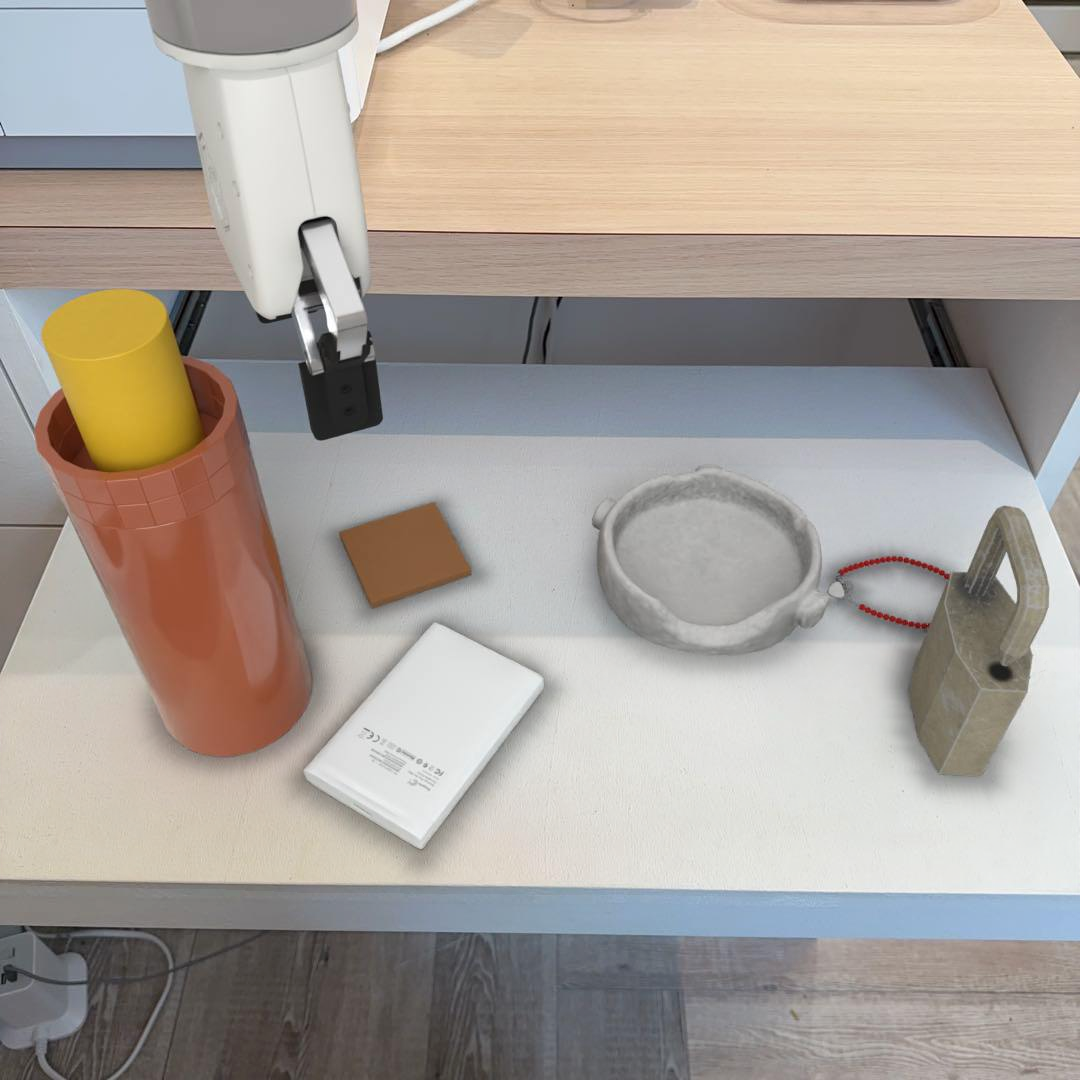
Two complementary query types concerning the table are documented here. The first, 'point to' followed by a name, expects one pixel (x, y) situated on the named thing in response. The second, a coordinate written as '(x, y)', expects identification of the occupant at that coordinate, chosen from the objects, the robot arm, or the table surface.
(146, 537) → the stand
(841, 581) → the necklace
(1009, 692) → the padlock
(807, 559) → the dish
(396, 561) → the mat
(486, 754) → the hard drive
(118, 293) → the yellow cylinder
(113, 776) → the table surface
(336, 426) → the robot arm
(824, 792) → the table surface
